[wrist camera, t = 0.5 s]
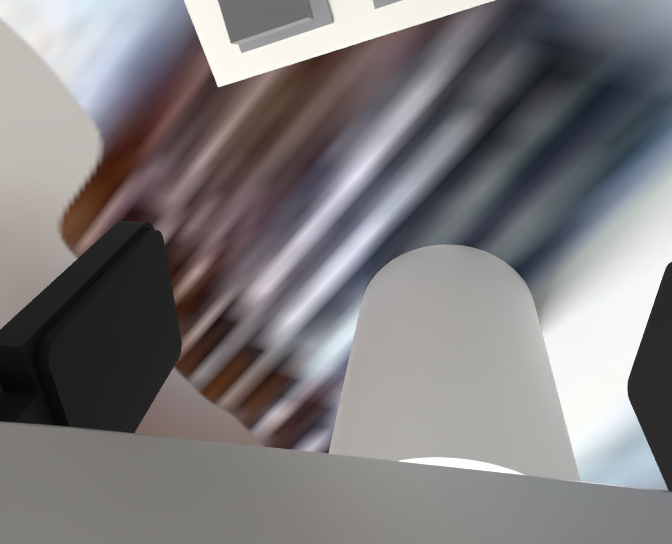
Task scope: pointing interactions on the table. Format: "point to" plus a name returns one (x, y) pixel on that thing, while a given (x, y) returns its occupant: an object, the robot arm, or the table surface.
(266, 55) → the rocker switch panel
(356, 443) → the canister
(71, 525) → the robot arm
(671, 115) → the table surface
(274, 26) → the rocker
